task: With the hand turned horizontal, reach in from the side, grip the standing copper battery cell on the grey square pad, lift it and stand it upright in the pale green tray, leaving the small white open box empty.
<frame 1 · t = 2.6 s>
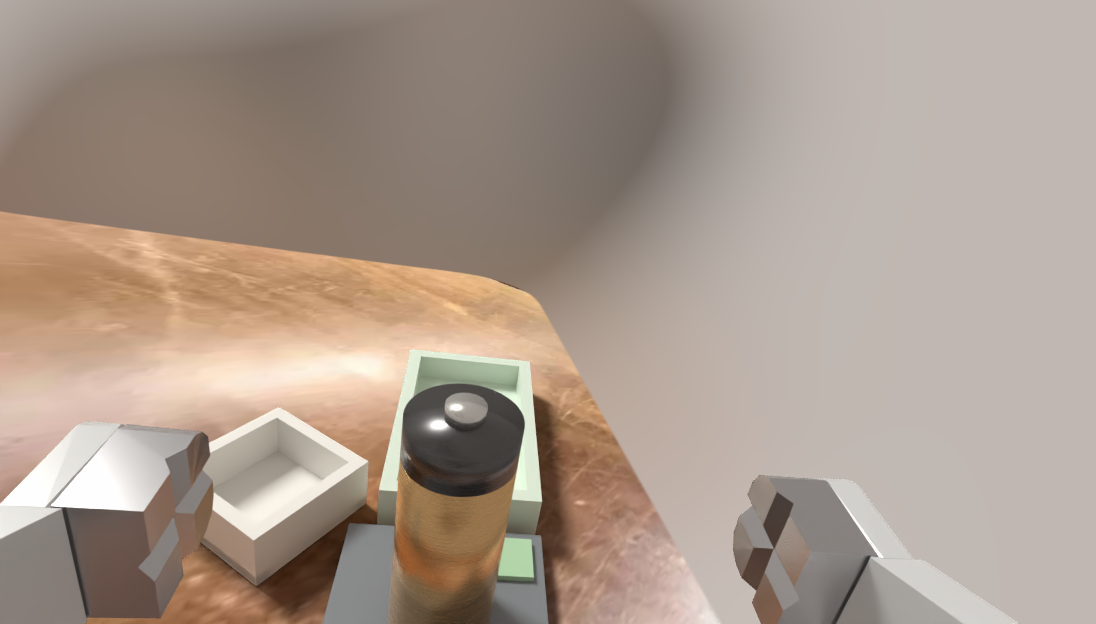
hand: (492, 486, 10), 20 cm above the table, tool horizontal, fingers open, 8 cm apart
pale green tray: (463, 446, 41), on the table
cell: (439, 613, 29), point 1 cm above the table, touching grey square pad
small white open box: (269, 508, 34), on the table
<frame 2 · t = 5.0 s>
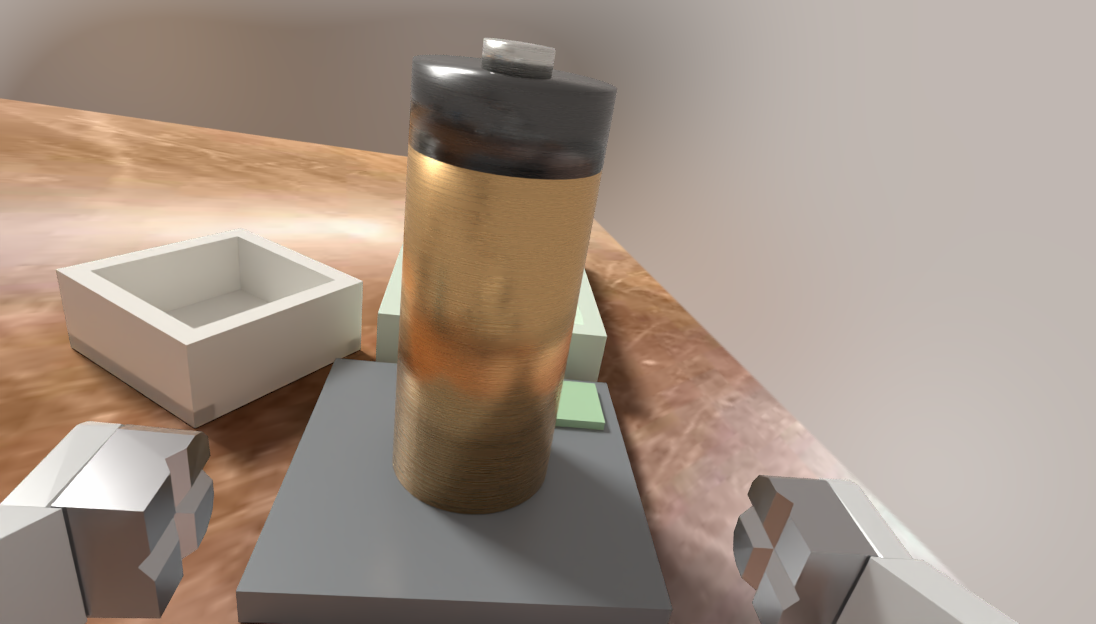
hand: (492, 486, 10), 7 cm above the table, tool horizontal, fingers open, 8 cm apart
pale green tray: (488, 302, 31), on the table
cell: (471, 458, 19), point 1 cm above the table, touching grey square pad
grey square pad: (467, 484, 20), on the table
small white open box: (224, 348, 24), on the table
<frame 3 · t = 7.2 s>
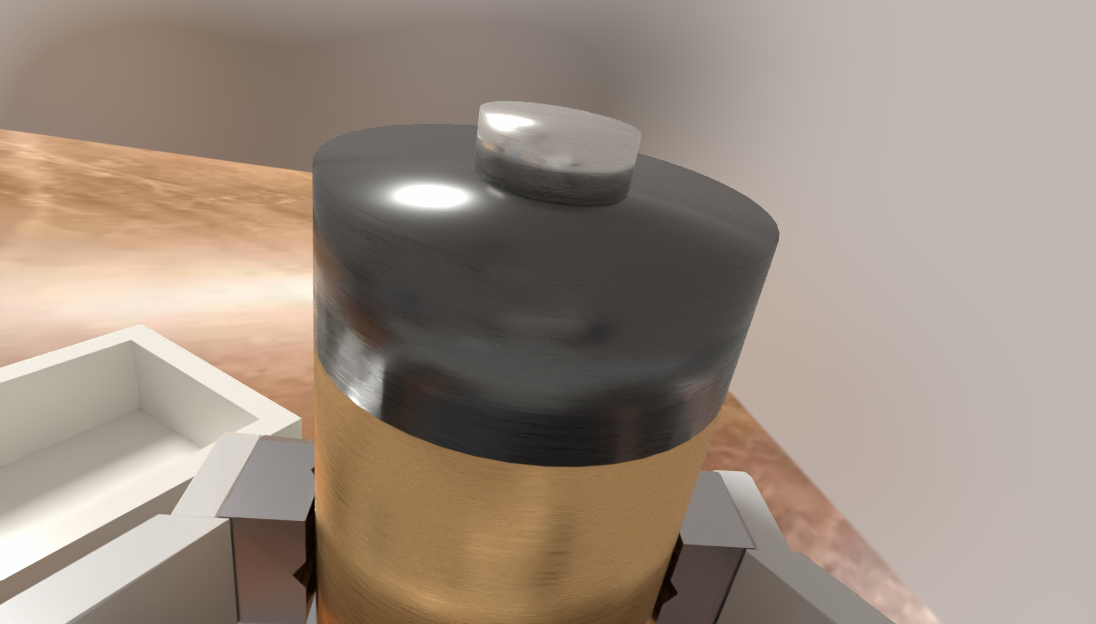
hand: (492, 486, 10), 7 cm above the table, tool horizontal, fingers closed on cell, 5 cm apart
small white open box: (97, 517, 16), on the table
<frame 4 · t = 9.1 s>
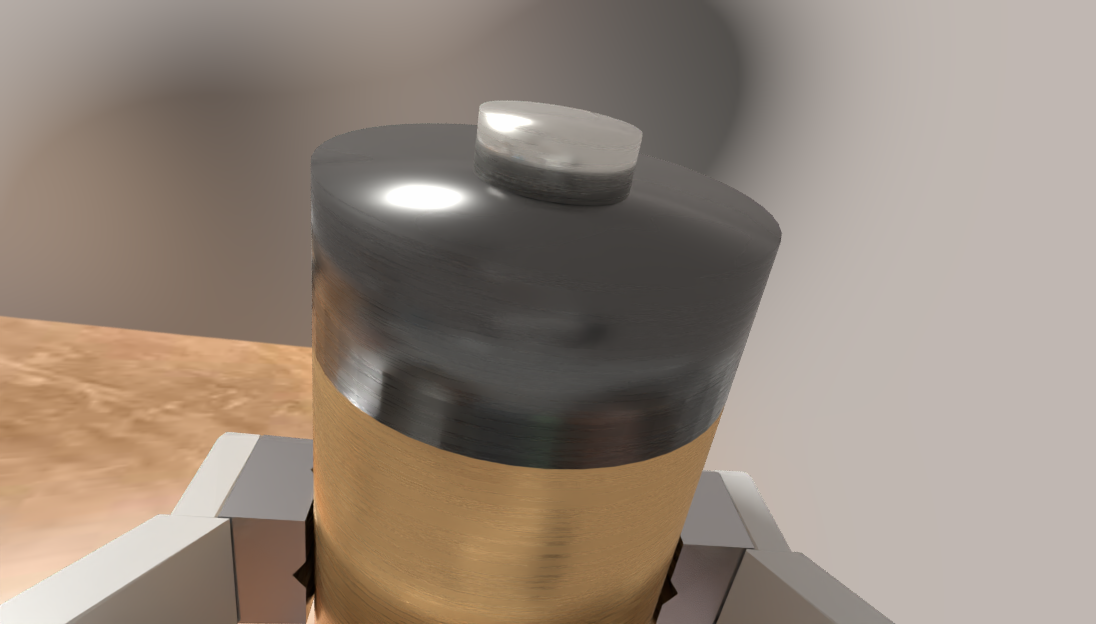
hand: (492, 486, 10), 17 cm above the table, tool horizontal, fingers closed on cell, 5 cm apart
when the fingers open (8 cm above the table, at t = 11.4 s): cell drops 2 cm, resting on pale green tray.
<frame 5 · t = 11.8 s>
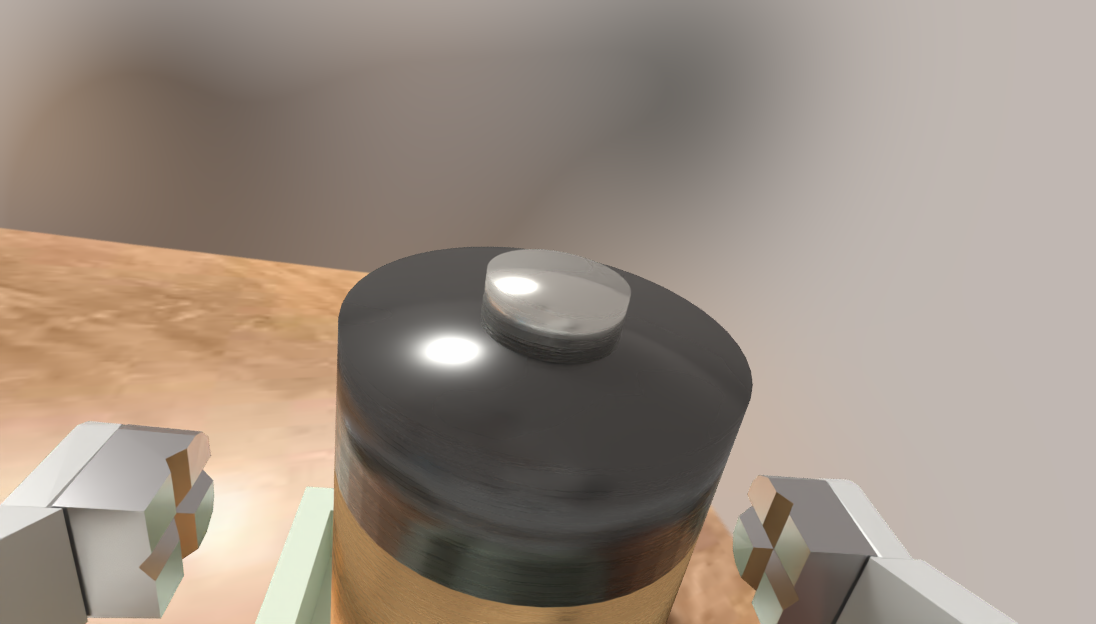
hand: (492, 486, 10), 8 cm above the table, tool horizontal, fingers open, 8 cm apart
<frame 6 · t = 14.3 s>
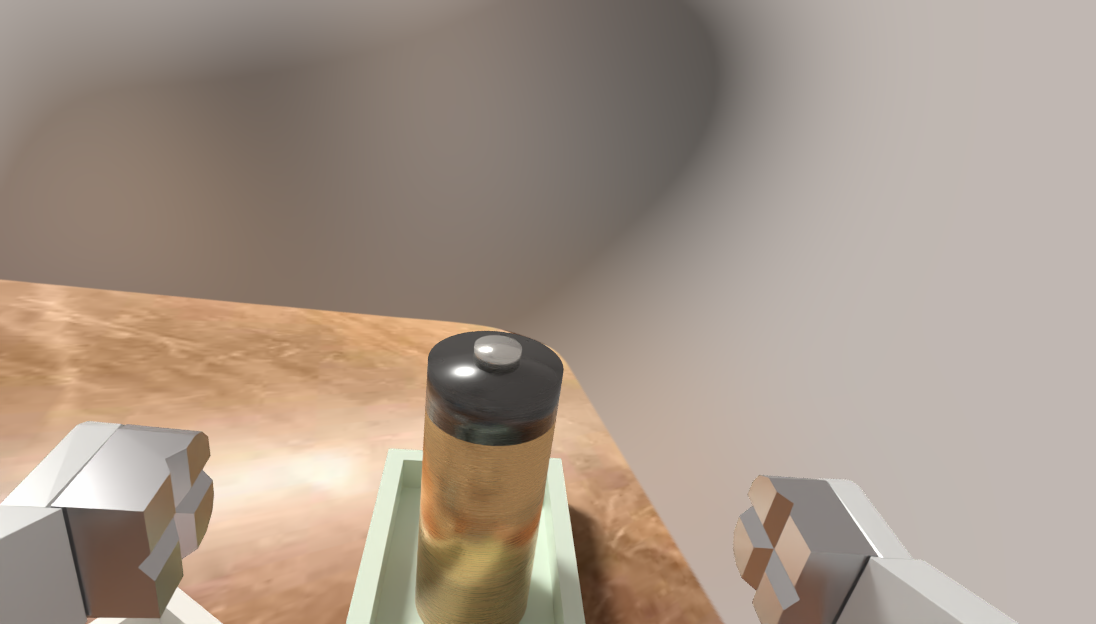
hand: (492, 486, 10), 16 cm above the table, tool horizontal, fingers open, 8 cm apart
pale green tray: (466, 608, 27), on the table
cell: (471, 594, 26), point 1 cm above the table, touching pale green tray
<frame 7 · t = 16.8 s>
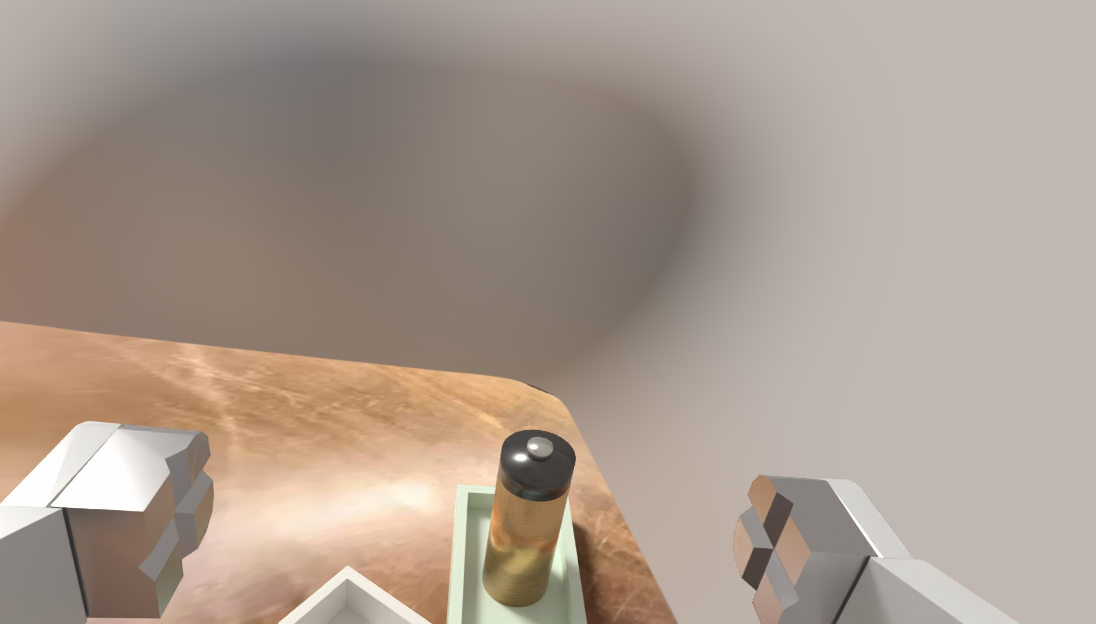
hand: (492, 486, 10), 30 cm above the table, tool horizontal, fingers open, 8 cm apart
pale green tray: (511, 586, 44), on the table
cell: (515, 578, 44), point 1 cm above the table, touching pale green tray
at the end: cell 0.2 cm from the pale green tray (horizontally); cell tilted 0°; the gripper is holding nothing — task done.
